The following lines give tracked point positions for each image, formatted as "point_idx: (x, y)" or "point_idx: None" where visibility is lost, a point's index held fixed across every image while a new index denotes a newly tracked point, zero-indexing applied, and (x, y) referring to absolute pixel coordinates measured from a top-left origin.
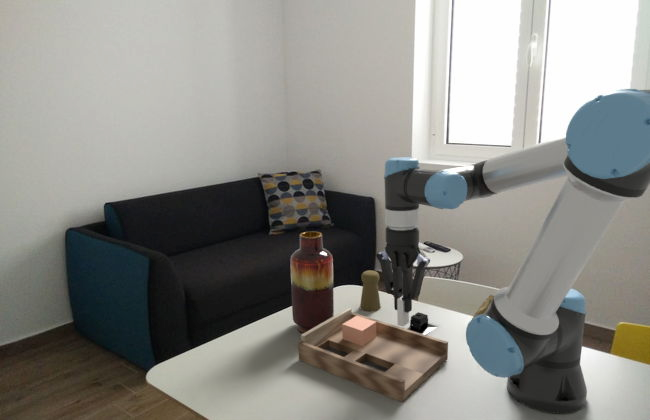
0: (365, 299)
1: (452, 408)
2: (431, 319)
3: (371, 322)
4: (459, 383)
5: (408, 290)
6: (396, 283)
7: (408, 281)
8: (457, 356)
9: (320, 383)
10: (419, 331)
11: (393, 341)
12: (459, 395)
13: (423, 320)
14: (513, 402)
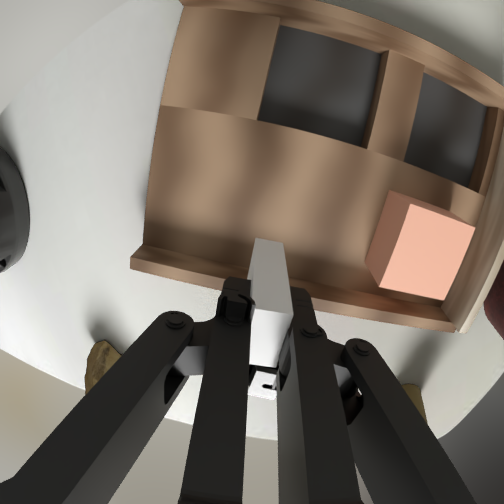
0: (416, 406)
1: (86, 49)
2: (253, 402)
3: (393, 276)
4: (93, 149)
5: (206, 361)
6: (309, 398)
7: (194, 420)
8: None
9: (417, 12)
10: None
11: (306, 253)
12: (82, 102)
13: (252, 375)
14: (10, 143)
